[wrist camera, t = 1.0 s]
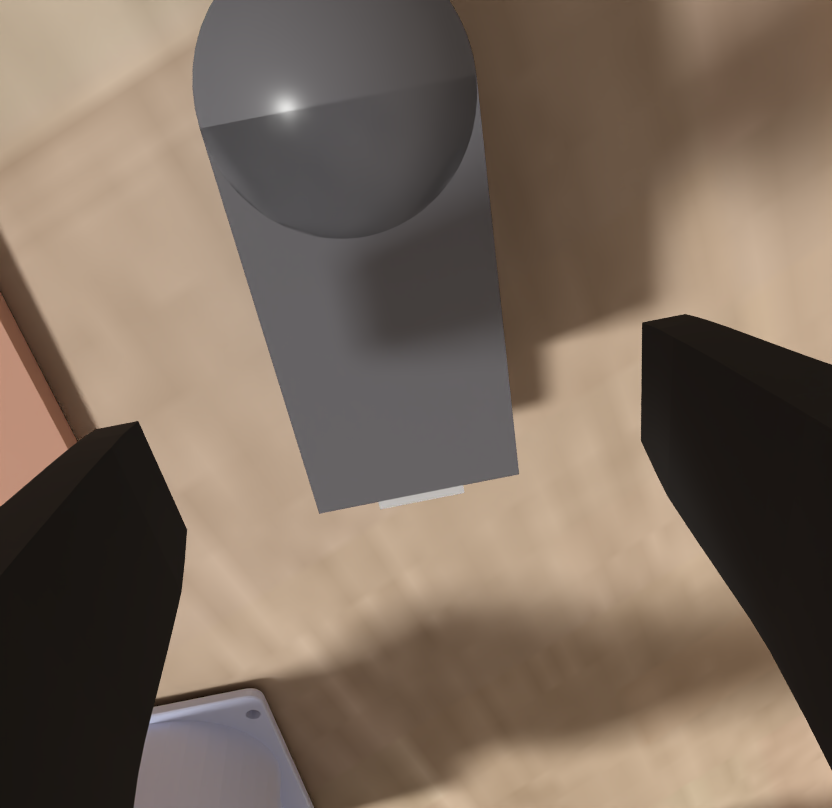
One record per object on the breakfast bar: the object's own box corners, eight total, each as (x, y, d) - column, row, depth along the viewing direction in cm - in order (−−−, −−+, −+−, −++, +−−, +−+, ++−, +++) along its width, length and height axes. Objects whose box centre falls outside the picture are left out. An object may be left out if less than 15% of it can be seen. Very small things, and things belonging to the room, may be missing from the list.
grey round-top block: (484, 424, 21) (526, 541, 16) (336, 453, 21) (339, 578, 16) (418, -75, 14) (458, -95, 10) (202, -33, 14) (149, -36, 10)
